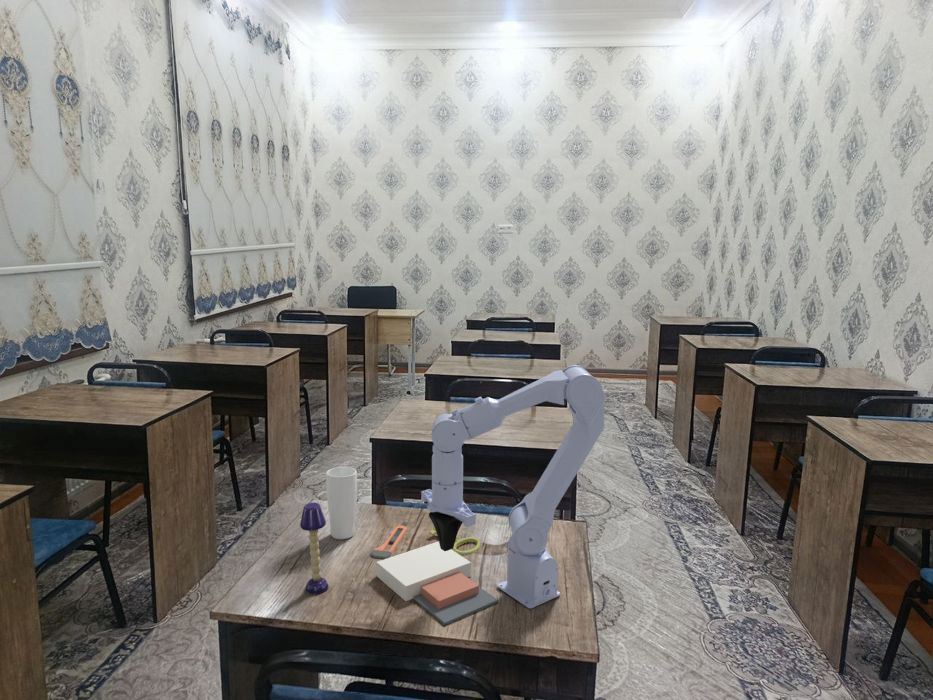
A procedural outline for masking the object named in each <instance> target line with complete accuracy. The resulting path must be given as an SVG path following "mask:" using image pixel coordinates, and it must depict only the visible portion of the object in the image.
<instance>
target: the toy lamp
mask: <svg viewBox="0 0 933 700" xmlns="http://www.w3.org/2000/svg"><path fill="white" fill-rule="evenodd" d="M300 518H301V519H300V524H299V525H300V528H301V529H302V530H303V531H307V532H308V534H309V536H308V539H309V548H310V550H309V555H310V563H311V578H310V579H308V581H307V582H306V584H305V591H306V593H308V594H310V595H319V594H322V593H323V594H324V593H325V592H326V591H327V590H328V589H329V583H328V581H327V580H326V579H325V578H324V577H322V572H321V569H322V567H321V564H320V563H321V558H320V548H319V547H320V542H319V538H320V537H319V534H318V533H319V530H320V529H322V528H324V527H325V526H326V525H327V523H326V522H327V520H326V518H325V514H324V512H323V509H322V507H321V504H320V503H319V502H308V503H306V504H305V505H304V506H303V509H302V513H301V517H300Z"/></svg>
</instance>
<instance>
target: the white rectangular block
mask: <svg viewBox="0 0 933 700" xmlns="http://www.w3.org/2000/svg"><path fill="white" fill-rule="evenodd" d="M375 563H376V569H375V570H376V577H377V579H379V580H381V582H383V583H384V584H385V585H386V587H389V588H390V589H391V590H392V591H393V592H395V594H397V595H398V596H399V597H401V599H403V600H404V601H405V602H407V601H411V600H414V599H413V597H414V596H417V595H419V594H421V586H423V585H426V584H429V583H431V582H434V581H437V580H440V579H442V578H445V577H448V576H451V575H453V574H456V573H459V572H461V573H462V574H464V575H465V576H466V577H468V578H470V577H471V576H472V573H471V572H472V562H471V561H470V560H468V559H466V558H465V557H464V556H463V555H459V554H458V553H456V552H455V551H453V550H452V549H451V550H448V551H443V550H442V549H441V548H440V544H439V540H438V541H436V542H432V543H430V544H427V545H423V546H420V547H418V548H415V549H412V550H409V551H406V552H403V553H399V554H396V555H394V556H390V557H389V558H387V559H380V560H378V561H376V562H375Z"/></svg>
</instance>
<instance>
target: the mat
mask: <svg viewBox="0 0 933 700" xmlns="http://www.w3.org/2000/svg"><path fill="white" fill-rule="evenodd" d="M412 600H413V601H415V602H416V603H417V604H418V605H420V607H422V609H425V610H426V611H427V612H428V613H429V614H431V616H433V617H434V619H436V620H437V621H438V622H440V623H441V624H442V625H443V626H446V625H449V624H451V623H453V622H456V621H458V620H460V619H463V618H465V617H468V616H470V615H472V614H475V613H477V612H480V611H482V610H484V609H486V608H489V607H491V606H493V605H495V604H497V603H499V599H497V598H496V597H495V596H493V595H492V594H491V593H489V592H488V591H486V590H485V589H483V588H482V587H480V586H479V593H478V594H475V595H473V596H470V597H467V598H465V599H462V600H460V601H457V602H455V603H452V604H450V605H447V606H445V607H442V608H440V609H438V608H437V607H436V606H435V605H434V604H432V603H431V602H430V601H429V600H428V599H426V598H425V597H424V596H423V595H422V594H419V595H417V596H414V597H413V599H412Z"/></svg>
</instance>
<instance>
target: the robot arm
mask: <svg viewBox="0 0 933 700" xmlns="http://www.w3.org/2000/svg"><path fill="white" fill-rule="evenodd" d="M606 399H607V397H606V394H605V392H604V389H603V387H602V385H601V383H600V381H599V380H598V378H597V377H594V376H593V375H592V374H590V373H589V371H588V370H587V369H586V368H585V367H583V366H581V365H575V364H574V365H569V366H566V367H564V369H563V370H561V369H558V370H555V371H552V372H550V373H549V374H547V375H545V376H544V377H541V378H539V379H538V380H536V381H533V382H531V383H529V384H527V385H525V386H523V387H521V388H519V389H517V390H514V391H512V392H510V393H509V394H507V395H505V396H503V397H501V398H499V399H495V398H491V397H489V396H487V397H485V398H482V396H479V397H476V398H474V403H471V404H469V405H467V406H464V407H462V408H459V409H458V410H457V408H454V409H452V410H451V411H450V413H442V414H440V415H439V416H437V417H436V418H435V420H434V421H433V423H432V427H431V440H432V443H433V445H432V456H431V489H430V488H429V489H425V490H422V491H420V494H421V499H420V500H421V502H423V503H426V502H427V503H428V505H426V506H427V507H426V509H427V510H428V511H429V513H428V517H429V519H430V521H431V523H432V525H433V527H435V530H436V533H437V534H436V535H437V540H438V541H439V544H440V548H441V549H442V550H443V551H448V550H451V549H453V547H454V544H455V540H456V536H457V537H458V533H459V530H460V528H461V526H462V525H463V526H464V527H466V528H469V527H471V526H475V525H476V522H477V521H476V519H477V517H476V513H474V512H472V510H471V509H470V508H469V506H468V505H467V504H466V503H465V501H464V500H463V499H464V497H463V496H464V493H463V492H464V455H463V454H462V453H463V452H462V451H463V448H462V446H464V443H465V441H468V440H472V439H473V438H474V439H475V438H476V437H478V436H481V435H483V434H486V433H488V432H490V431H492V430H495V429H497V428H499V427H501V426H502V424H503V422H504V419H505V418H506V417H507V416H510V415H514V414H516V413H518V412H521V411H523V410H526V409H529V408H531V407H533V406H536V405H537V406H538V405H539V404H542V403H544V402H549V403H552V404H558V405H562V406H565V401H566V402H567V403H568V407H569V410H570V412H571V415H572V419H573V423H572V425H571V427H570V428H569V430H568V432H567V433H566V435H565V437H564V438H563V440H562V441H561V443H560V444H559V446H558V447H557V450H556V451H555V453H554V454H553V456H552V458H551V460H550V462H549V463H548V465H547V466H546V468H545V470H544V471H543V473H542V475H540V478H539V480H538V482H537V483H536V485H535V486H534V489H533V490H532V491H531V492H529V493H528V494H526V495H524V497H523V499H522V500H521V502H520V503H518V504H516V505H514V506H513V507H512V508H511V510H510V511H509V514H508V523H509V526H510V531H511V536H510V538H508V541H507V560H506V562H507V563H506V564H507V565H506V580H504V581H502V582H499V583H497V584H496V587H497V588H498V589H500V590H501V591H503V592H504V593H505V594H507V595H509V597H511V598H513V599H514V600H515V601H517V602H519V603H520V604H522V605H523V606H524V607H526V608H527V609H533V608H536V607H537V606H539V605H542V604H544V603H546V602H548V601H550V600H553V599H555V598H557V597H559V596H561V592H560V591H559V590H558V581H559V580H558V579H559V563H558V562H557V560H556V559H555V558H554V557H553V556H552V555H551V554H550V553H549V551H548V549H547V545H548V544H547V543H548V539H549V538H548V537H549V536H548V535H549V532H550V530H551V528H552V526H553V522H554V517H555V511H556V508H557V507H558V505H559V504H560V502H561V500H562V498H563V497H564V496H565V493H566V492H567V491H568V488H569V487H570V486H571V483H572V482H573V480H574V479H575V477H576V475H577V474H578V472H579V471H580V469H581V467H582V466H583V464H584V462H585V461H586V458H587V457H588V456H589V454H590V453H591V451H592V449H593V448H594V446H595V444H596V442H597V441H598V439H599V438H600V436H601V434H602V433H603V431H604V428H605V402H606Z"/></svg>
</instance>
